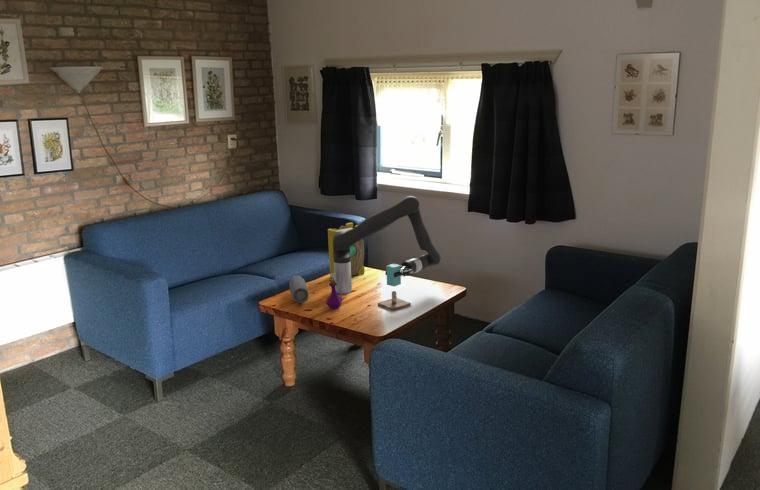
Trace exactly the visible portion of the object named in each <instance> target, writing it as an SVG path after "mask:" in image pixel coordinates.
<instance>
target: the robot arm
mask: <svg viewBox="0 0 760 490" xmlns="http://www.w3.org/2000/svg"><path fill="white" fill-rule="evenodd" d="M406 216H407V217H408V219H409V221H410V223H411V226H412V230H413V233H414V235H415V236H414V237H415V239H416V241H417V244H418V247H419V249H420V250H421V251H425V252H427V253H424V254H423V255H420V256H417V257H415V258H410V259H407V260H404V261H403V262H401V264H399V265H400V271H398V272H395V273H394V277H398V276H401V277H402V276H403V277H407V276H411V275H412V276H413V274H416V273H418V272H420V271H423V270H425V269H427V268H429V267H433V266H436V265H439V264H440V263H441V260H442V259H441V255H440V253H439V251H438V250H437V248H436V247H435V246H434V244H433V243H432V239H431V237H430V235H429V232H428V229H427V227H426V225H425V223H424V221H423V217H422V215H421V210H420V202H419V200H418V198H417V197H415V196H413V195H408V196H406V197H404V198H403V199H402V200H401V201H399V202H398V203H396V204H395V205H393V206H391V207H389V208H386V209H383V210H381V211H378V212H376V213H374V214H372V215H370V216H368V217H367V218H365V219H364V220H362V221H361V222H360V223H359V224H357V225H358V226H356V225H355V226H356V227H355V226H354V227H353V229H352V230H350V231H347V232H343V231H339V232H337V233H335V235H334V236H333V259H334V273H335V274H336V275H335V276H334V278H333V280H335V283H337V285H336V286H335V290H336V292H337V294H338V295H340V294H341V295H344V294H349V293H351V292H352V289H353V288H352V286H353V285H352V276H351V259H350V246H352V245H353V244H355V243H356V242H358V241H360V240H361V239H363V240H364V239H366V238H368V237H370V236H372V235H374V234H376V233H378V232H381V231H382V230H384V229H386V228H387V227H389V226H390V225H392V224H393V223H394V222H396V221H398V220H399V219H401V218H404V217H406ZM385 276H387V270H385Z"/></svg>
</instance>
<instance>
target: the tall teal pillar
mask: <svg viewBox="0 0 760 490" xmlns="http://www.w3.org/2000/svg"><path fill="white" fill-rule="evenodd" d="M400 265H401V264H397V263H391V264H388V265H385V266H386V268H385V269H386V270H385V271H387V275H386V285H387V286H390V287H397V286H399V285H401V284H402V276H398V277H394V273H395V272H398V271H400Z"/></svg>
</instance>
